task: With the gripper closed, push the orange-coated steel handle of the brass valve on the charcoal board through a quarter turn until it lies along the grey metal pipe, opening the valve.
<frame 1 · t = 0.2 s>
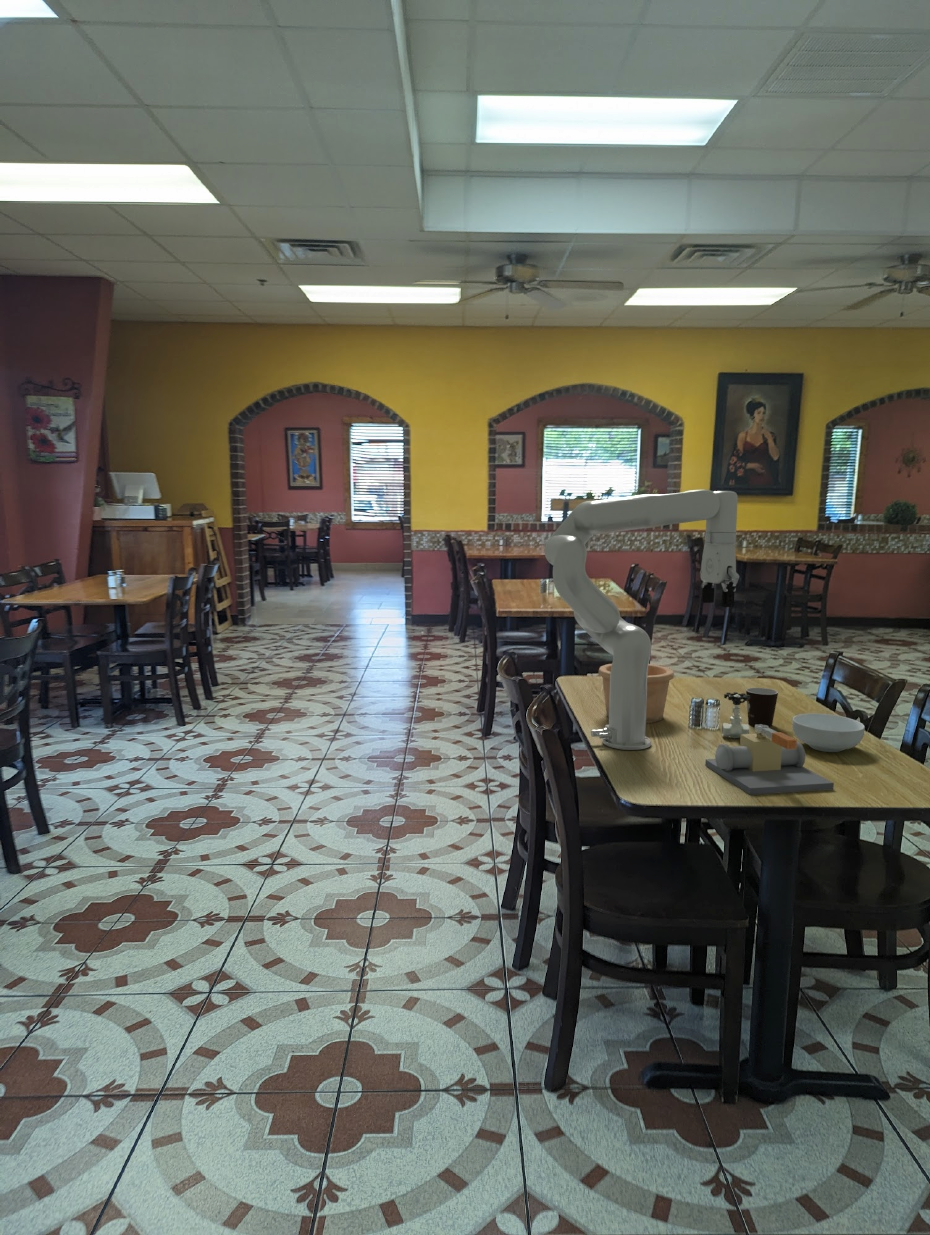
hand: (717, 604, 201), 37 cm above the table, tool pointing down, fingers open, 9 cm apart
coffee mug: (761, 724, 222), on the table
valve board: (759, 772, 180), on the table
cereal bowl: (826, 748, 199), on the table
valve lever: (774, 735, 173), point 10 cm above the table, hinge at 0.0°
pottery: (634, 717, 230), on the table
valve: (734, 738, 208), on the table
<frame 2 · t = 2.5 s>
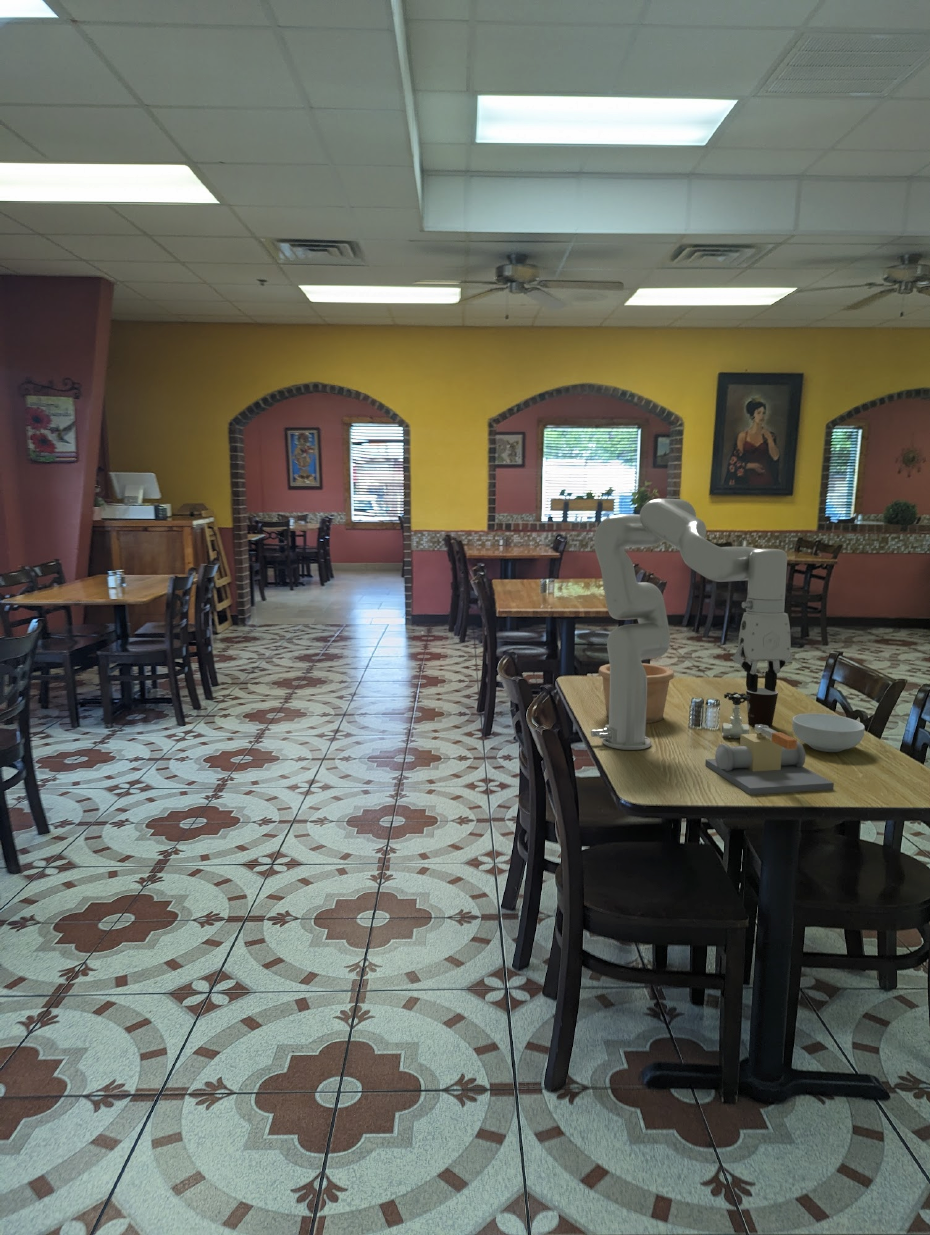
hand: (760, 689, 166), 22 cm above the table, tool pointing down, fingers open, 3 cm apart
nothing on the table moved.
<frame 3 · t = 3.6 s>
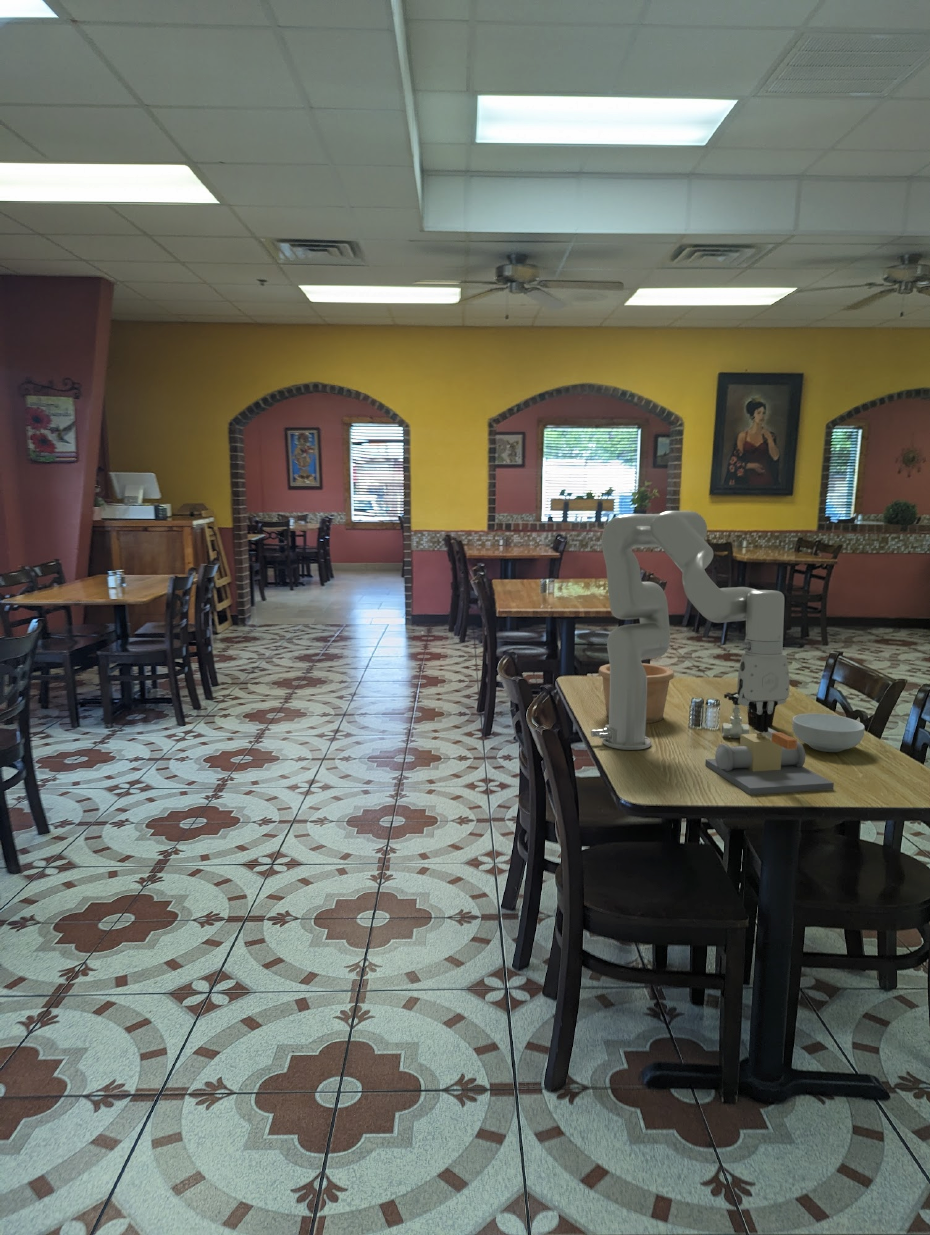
hand: (760, 730, 167), 13 cm above the table, tool pointing down, fingers closed
nothing on the table moved.
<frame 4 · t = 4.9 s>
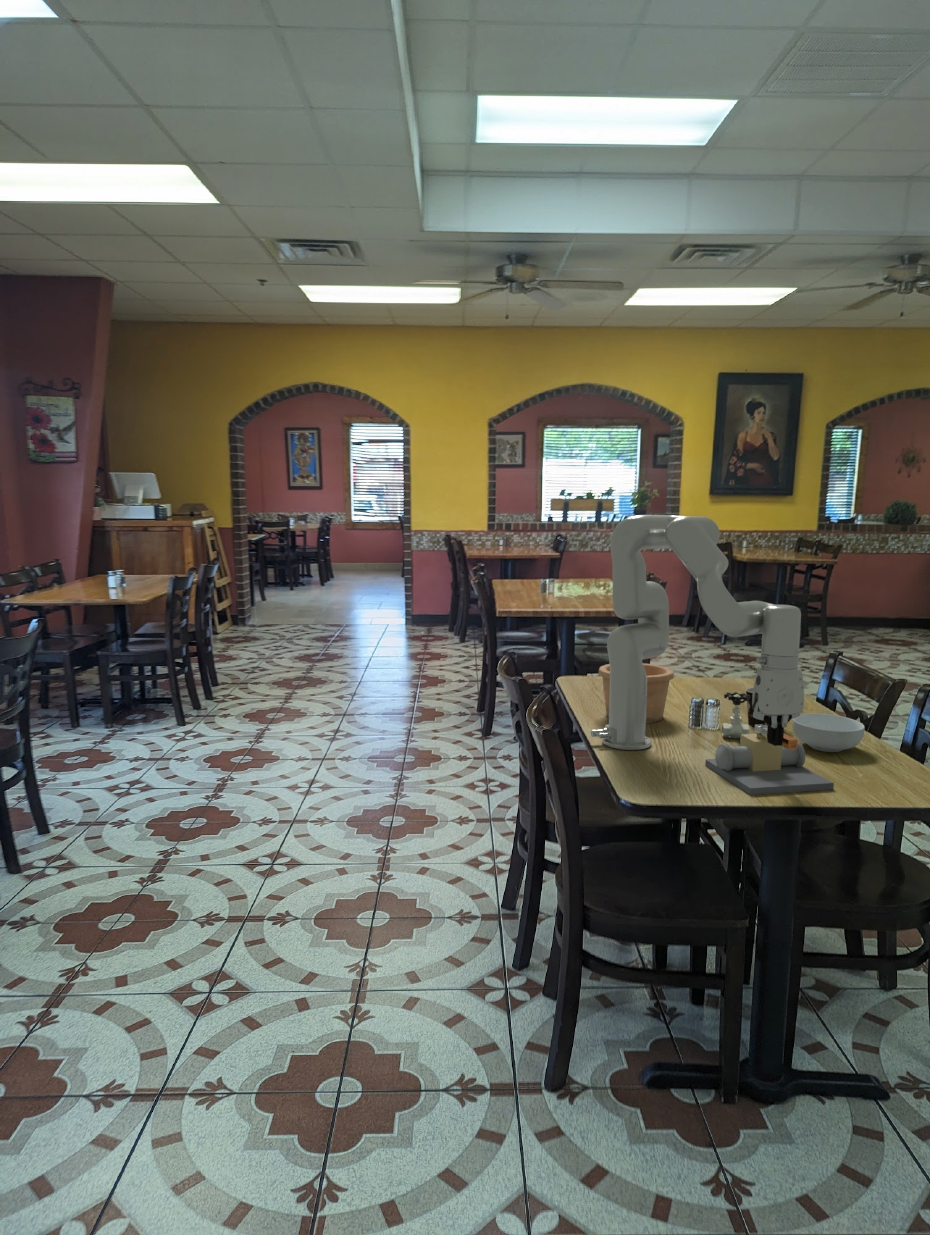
hand: (774, 743, 168), 10 cm above the table, tool pointing down, fingers closed
valve lever: (774, 735, 173), point 10 cm above the table, hinge at 0.9°, touching gripper
everything else where it was.
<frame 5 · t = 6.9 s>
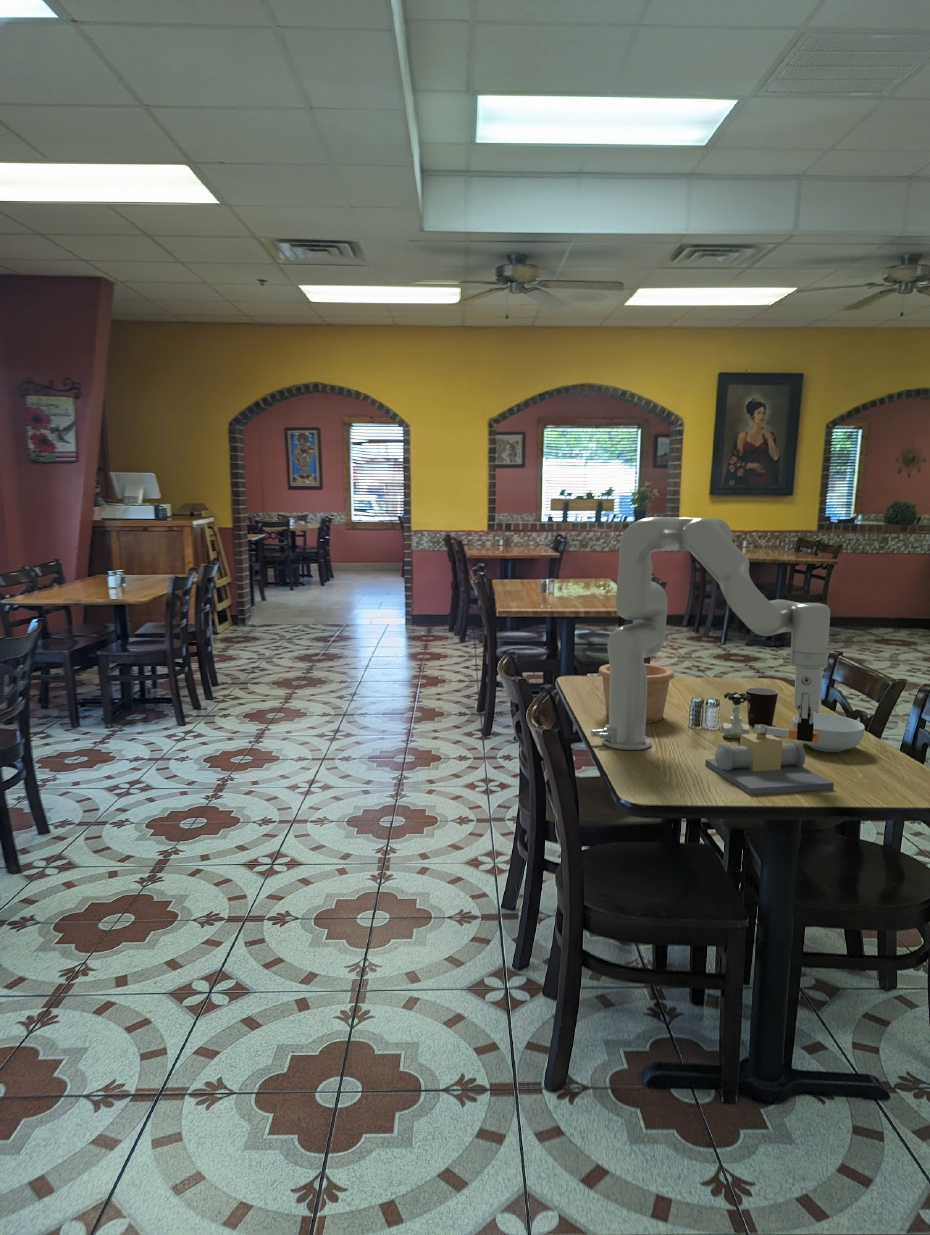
hand: (804, 739, 171), 10 cm above the table, tool pointing down, fingers closed
valve lever: (785, 732, 176), point 10 cm above the table, hinge at 49.2°, touching gripper
everything else where it was.
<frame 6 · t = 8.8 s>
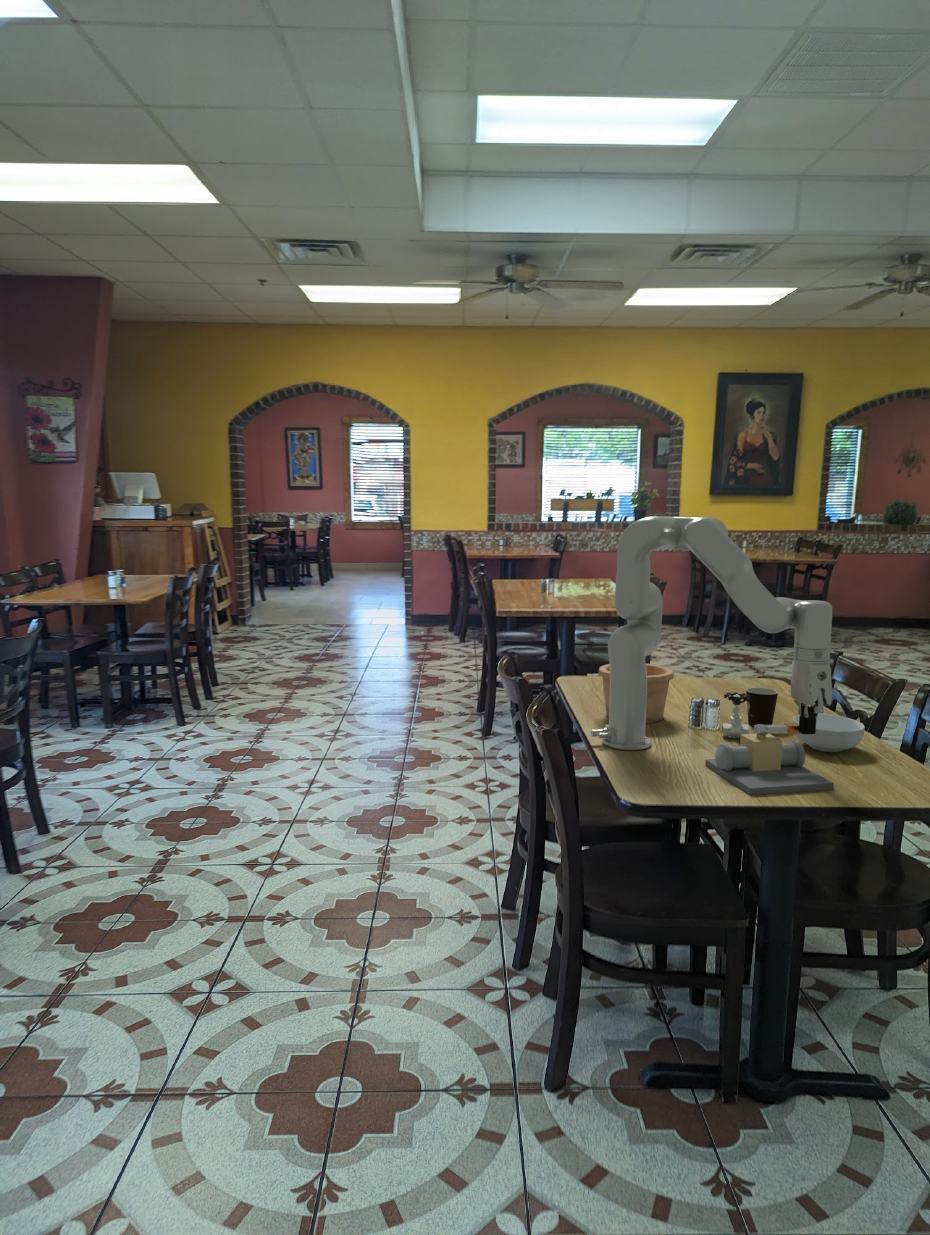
hand: (807, 733, 176), 10 cm above the table, tool pointing down, fingers closed
valve lever: (783, 729, 179), point 10 cm above the table, hinge at 84.9°, touching gripper
everything else where it was.
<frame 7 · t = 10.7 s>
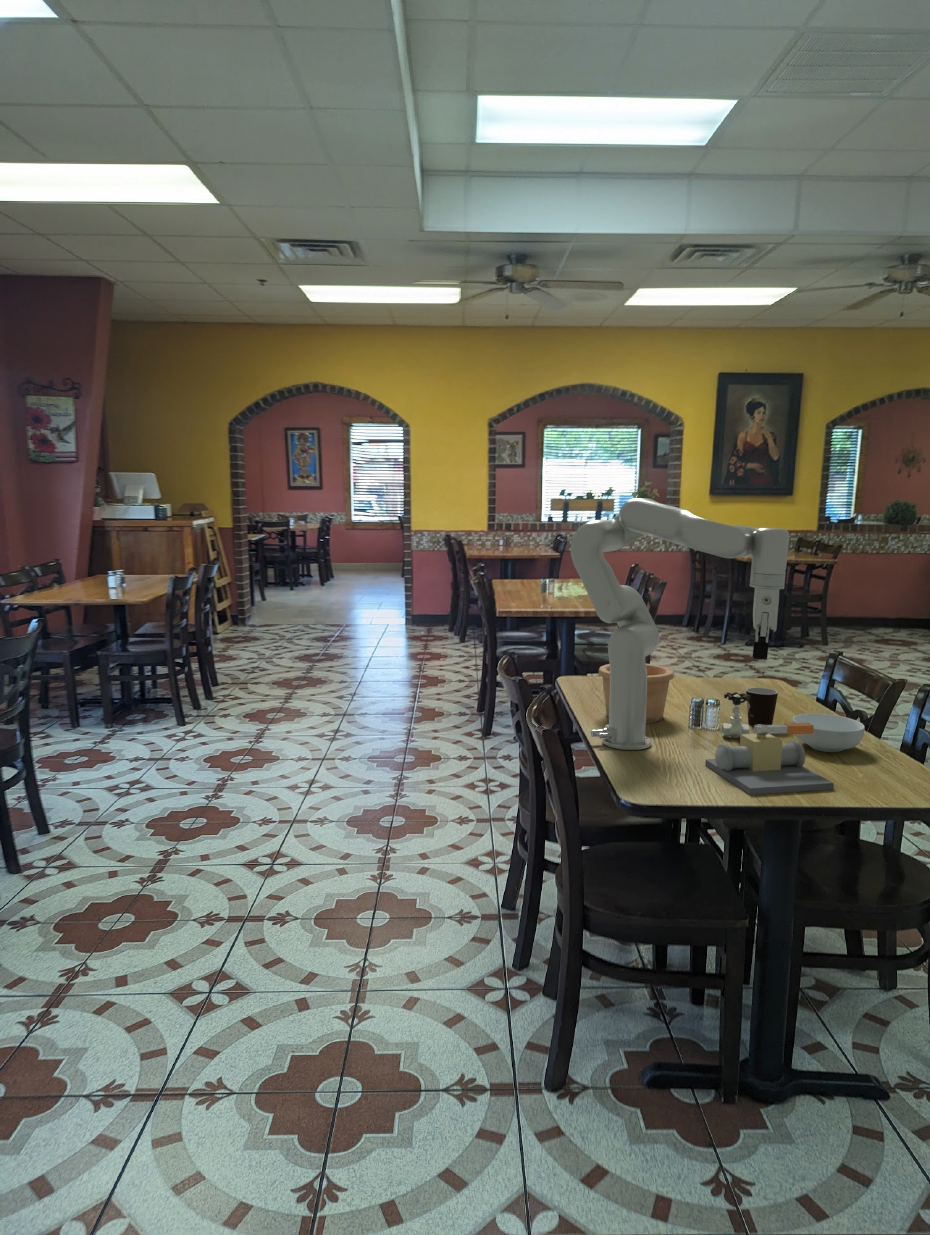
hand: (759, 658, 181), 26 cm above the table, tool pointing down, fingers closed
valve lever: (783, 728, 179), point 10 cm above the table, hinge at 85.1°
everything else where it was.
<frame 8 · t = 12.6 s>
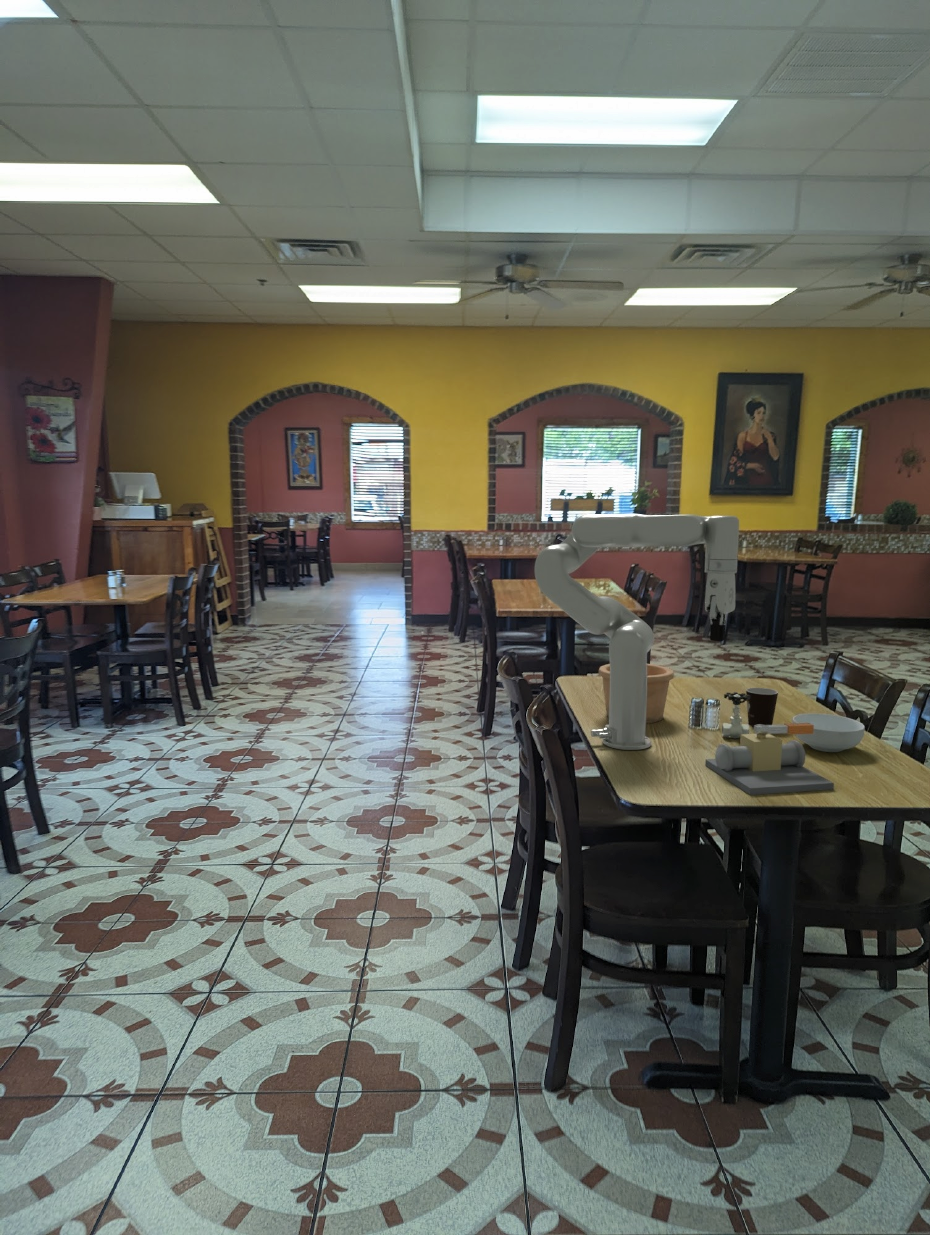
hand: (717, 640, 190), 29 cm above the table, tool pointing down, fingers closed
nothing on the table moved.
at the end: valve lever at +85° (first picture: +0°); valve tilted 0° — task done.
